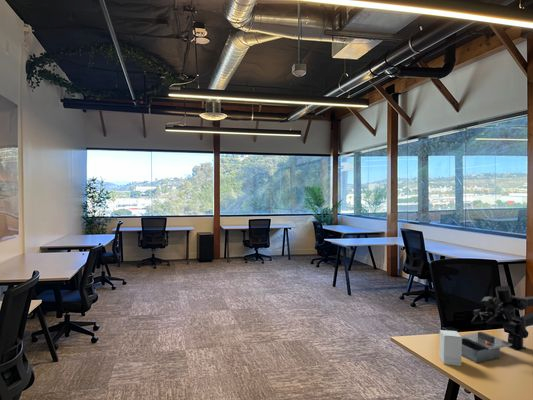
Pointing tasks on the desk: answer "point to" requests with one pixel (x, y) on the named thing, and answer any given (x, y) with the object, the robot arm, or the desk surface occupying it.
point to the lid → (486, 340)
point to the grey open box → (478, 352)
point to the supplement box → (450, 347)
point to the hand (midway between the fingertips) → (479, 323)
